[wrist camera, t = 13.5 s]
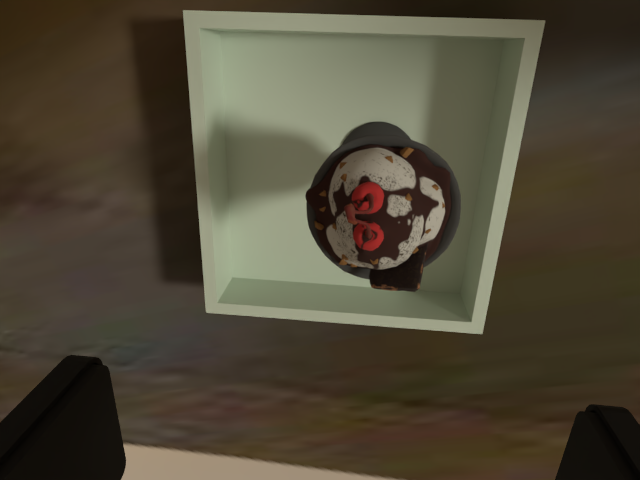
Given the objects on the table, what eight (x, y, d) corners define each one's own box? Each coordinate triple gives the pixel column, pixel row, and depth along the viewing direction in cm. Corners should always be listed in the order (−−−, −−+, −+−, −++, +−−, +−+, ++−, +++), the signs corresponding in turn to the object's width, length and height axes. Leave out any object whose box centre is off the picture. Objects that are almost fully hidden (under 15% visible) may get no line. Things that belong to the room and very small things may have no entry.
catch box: (210, 16, 27) (182, 10, 23) (516, 25, 26) (545, 20, 22) (225, 281, 34) (205, 312, 30) (467, 298, 33) (482, 334, 29)
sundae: (342, 92, 27) (319, 132, 14) (446, 127, 28) (527, 201, 14) (311, 191, 30) (265, 309, 16) (406, 222, 30) (441, 365, 16)
